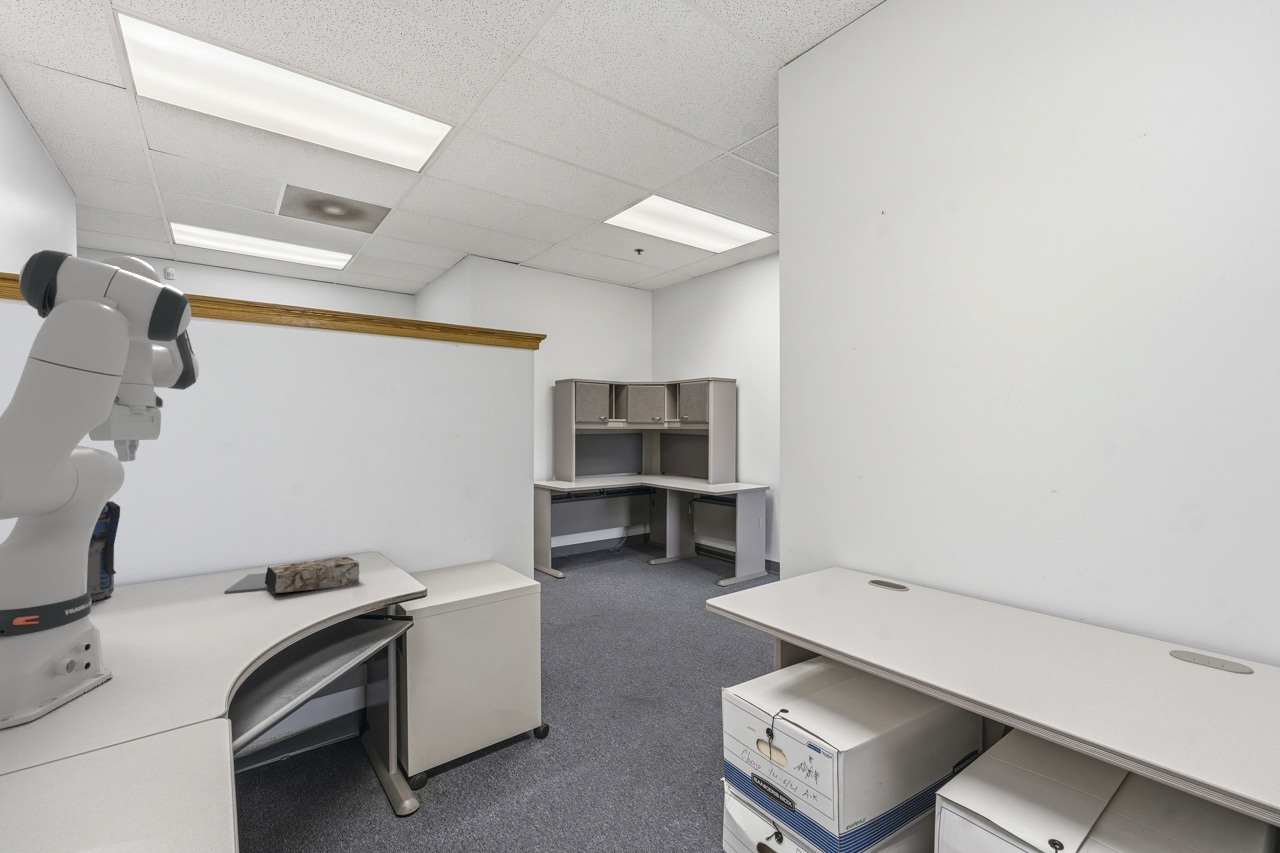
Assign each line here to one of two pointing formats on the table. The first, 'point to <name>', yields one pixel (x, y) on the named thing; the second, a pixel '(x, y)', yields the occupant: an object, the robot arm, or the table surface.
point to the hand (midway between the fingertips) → (126, 461)
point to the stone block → (313, 575)
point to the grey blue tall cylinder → (103, 553)
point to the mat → (249, 584)
